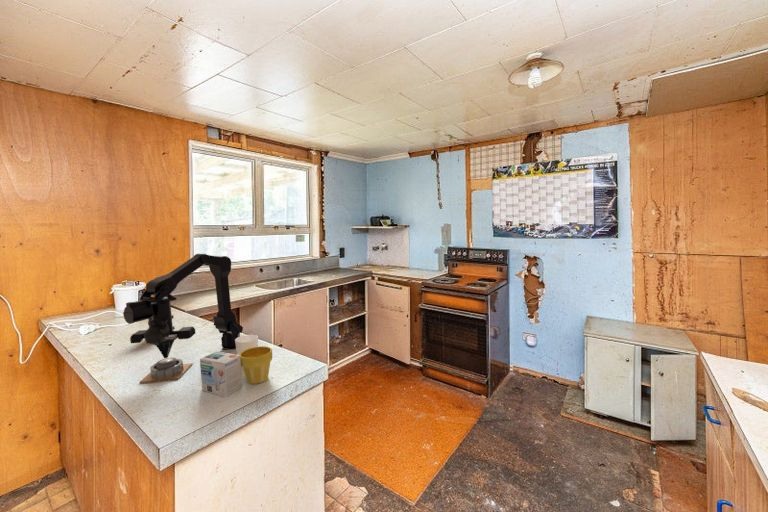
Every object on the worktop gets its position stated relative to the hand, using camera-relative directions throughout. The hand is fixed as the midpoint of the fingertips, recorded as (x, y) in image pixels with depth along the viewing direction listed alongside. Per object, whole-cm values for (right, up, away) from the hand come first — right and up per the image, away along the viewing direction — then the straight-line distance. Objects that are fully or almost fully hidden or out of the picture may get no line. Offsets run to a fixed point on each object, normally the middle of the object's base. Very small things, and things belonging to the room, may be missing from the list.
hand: (166, 357), depth 116 cm
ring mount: (0, -6, +1) cm, 6 cm away
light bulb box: (+26, -7, -11) cm, 29 cm away
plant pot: (+35, -6, -5) cm, 36 cm away
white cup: (+26, -5, +7) cm, 28 cm away
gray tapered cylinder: (0, -5, 0) cm, 5 cm away
